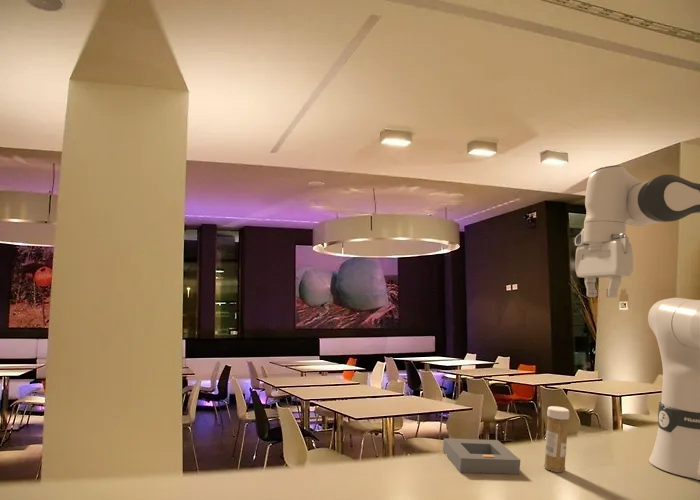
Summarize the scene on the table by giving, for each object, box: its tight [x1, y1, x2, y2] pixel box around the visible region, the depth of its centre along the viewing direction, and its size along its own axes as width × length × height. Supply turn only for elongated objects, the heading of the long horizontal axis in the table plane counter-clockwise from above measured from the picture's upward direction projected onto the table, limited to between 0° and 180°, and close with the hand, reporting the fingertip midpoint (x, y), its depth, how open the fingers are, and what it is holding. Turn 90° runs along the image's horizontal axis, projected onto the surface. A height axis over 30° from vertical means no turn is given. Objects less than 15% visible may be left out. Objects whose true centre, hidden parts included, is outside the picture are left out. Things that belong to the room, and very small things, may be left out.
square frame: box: [442, 438, 521, 475], centre depth 133 cm, size 13×13×3 cm
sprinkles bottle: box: [543, 405, 570, 473], centre depth 132 cm, size 5×5×14 cm
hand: (601, 297), depth 136 cm, fingers open, 8 cm apart
